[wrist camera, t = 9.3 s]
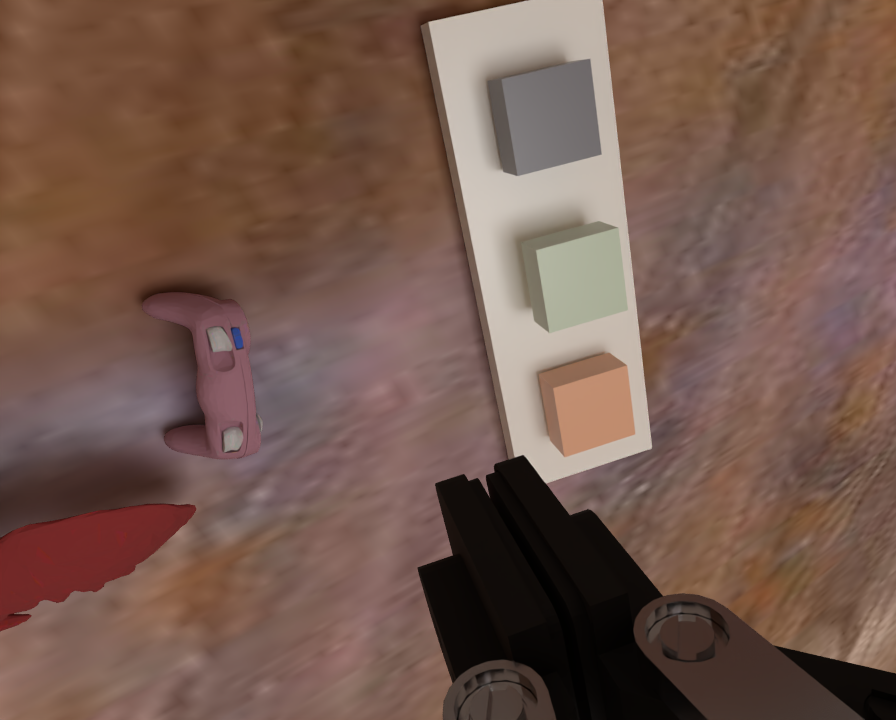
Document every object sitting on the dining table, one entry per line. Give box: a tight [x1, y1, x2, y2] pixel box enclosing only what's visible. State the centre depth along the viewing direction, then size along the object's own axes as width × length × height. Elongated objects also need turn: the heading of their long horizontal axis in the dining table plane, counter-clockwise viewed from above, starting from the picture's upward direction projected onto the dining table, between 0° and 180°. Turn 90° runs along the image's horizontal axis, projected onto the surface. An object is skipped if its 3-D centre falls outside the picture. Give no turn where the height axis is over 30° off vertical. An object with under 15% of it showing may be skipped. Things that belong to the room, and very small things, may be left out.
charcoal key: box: [487, 59, 602, 176], centre depth 39 cm, size 5×5×2 cm
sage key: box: [521, 221, 628, 333], centre depth 42 cm, size 5×5×2 cm
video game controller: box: [142, 292, 263, 459], centre depth 40 cm, size 10×5×7 cm, turn 1°
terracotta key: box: [539, 353, 635, 457], centre depth 46 cm, size 5×5×2 cm
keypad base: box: [421, 0, 652, 483], centre depth 45 cm, size 30×10×2 cm, turn 12°
